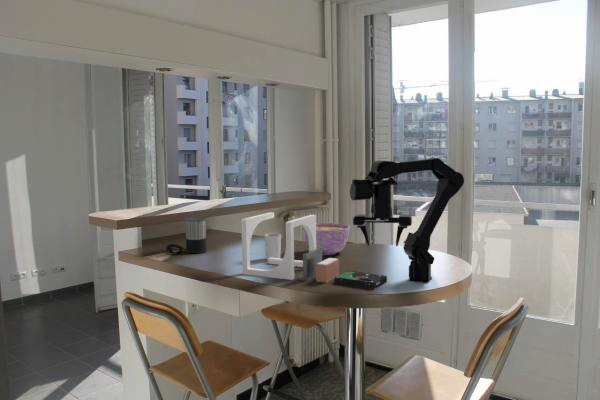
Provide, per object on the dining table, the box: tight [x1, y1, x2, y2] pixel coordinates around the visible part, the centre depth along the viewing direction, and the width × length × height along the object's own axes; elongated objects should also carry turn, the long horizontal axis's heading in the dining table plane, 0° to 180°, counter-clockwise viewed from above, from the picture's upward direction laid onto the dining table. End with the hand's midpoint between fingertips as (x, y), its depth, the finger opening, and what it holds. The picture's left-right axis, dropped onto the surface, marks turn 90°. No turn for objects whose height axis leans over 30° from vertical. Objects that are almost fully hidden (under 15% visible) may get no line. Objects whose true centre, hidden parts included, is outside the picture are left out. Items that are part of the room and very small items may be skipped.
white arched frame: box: [240, 211, 317, 281], centre depth 187 cm, size 20×20×20 cm
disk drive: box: [333, 270, 388, 290], centre depth 170 cm, size 10×3×15 cm
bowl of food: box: [302, 222, 351, 256], centre depth 216 cm, size 20×20×12 cm
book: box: [315, 257, 340, 284], centre depth 175 cm, size 4×10×6 cm, turn 152°
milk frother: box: [165, 216, 208, 255], centre depth 221 cm, size 14×16×15 cm
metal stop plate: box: [297, 248, 323, 282], centre depth 178 cm, size 4×12×9 cm, turn 152°
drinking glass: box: [264, 233, 282, 261], centre depth 206 cm, size 7×7×10 cm
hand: (382, 245), depth 168 cm, fingers open, 9 cm apart
